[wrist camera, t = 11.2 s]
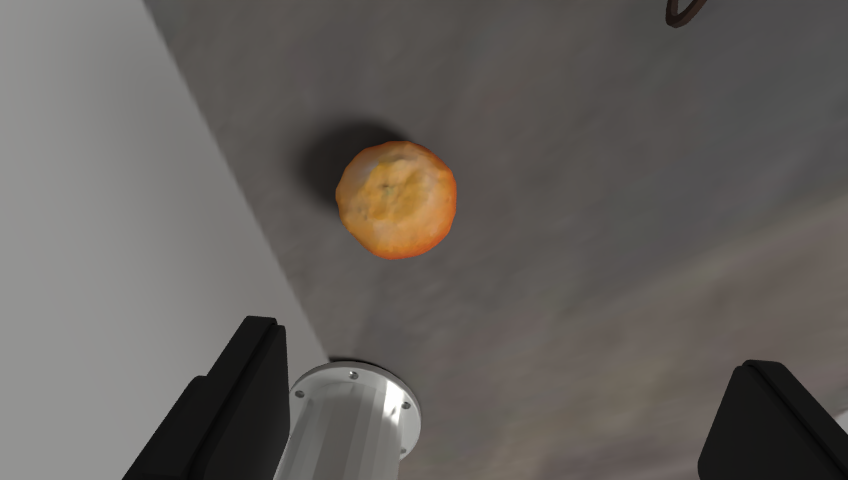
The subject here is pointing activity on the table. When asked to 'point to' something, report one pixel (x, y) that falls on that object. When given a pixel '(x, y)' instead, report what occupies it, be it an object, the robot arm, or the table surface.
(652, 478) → the table surface
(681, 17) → the coffee mug
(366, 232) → the fruit
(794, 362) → the table surface
